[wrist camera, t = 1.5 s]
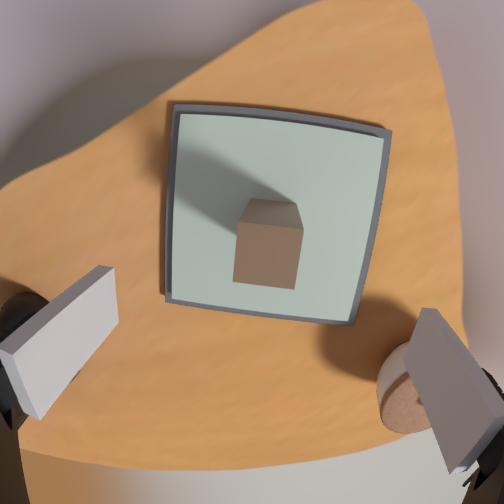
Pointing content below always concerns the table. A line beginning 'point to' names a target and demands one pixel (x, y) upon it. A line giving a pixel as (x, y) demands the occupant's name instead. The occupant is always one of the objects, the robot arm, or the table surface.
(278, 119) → the mat
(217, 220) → the lid
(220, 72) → the table surface
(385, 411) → the lidded jar
